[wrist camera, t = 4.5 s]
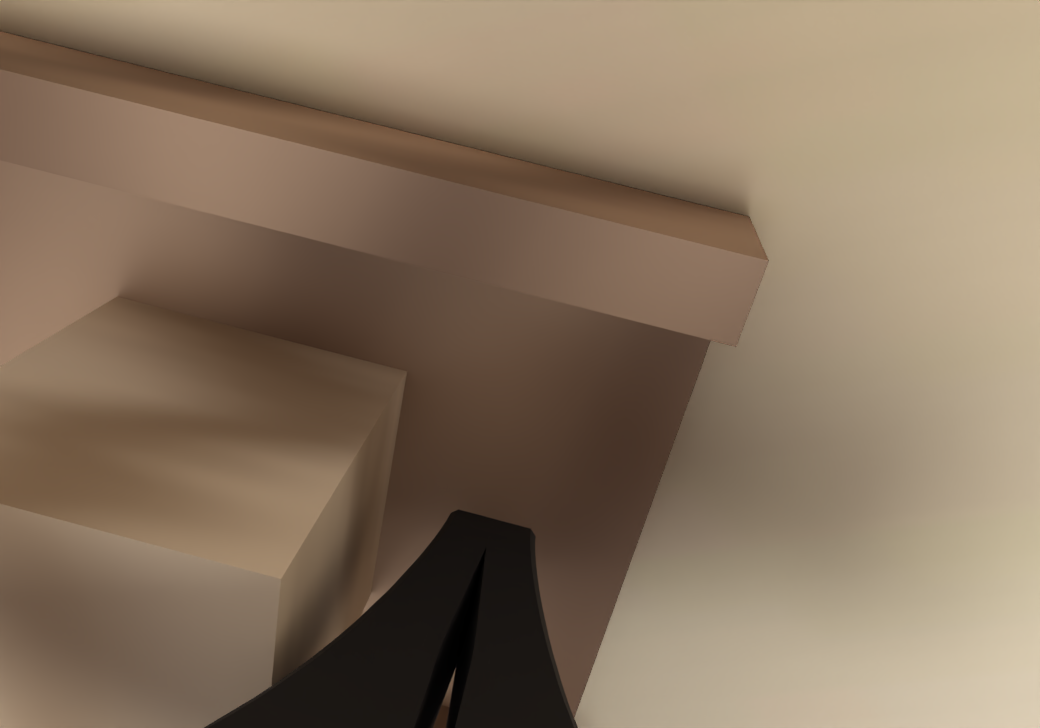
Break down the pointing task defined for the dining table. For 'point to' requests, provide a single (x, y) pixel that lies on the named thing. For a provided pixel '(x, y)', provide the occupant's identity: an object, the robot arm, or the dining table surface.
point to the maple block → (180, 515)
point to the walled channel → (390, 294)
